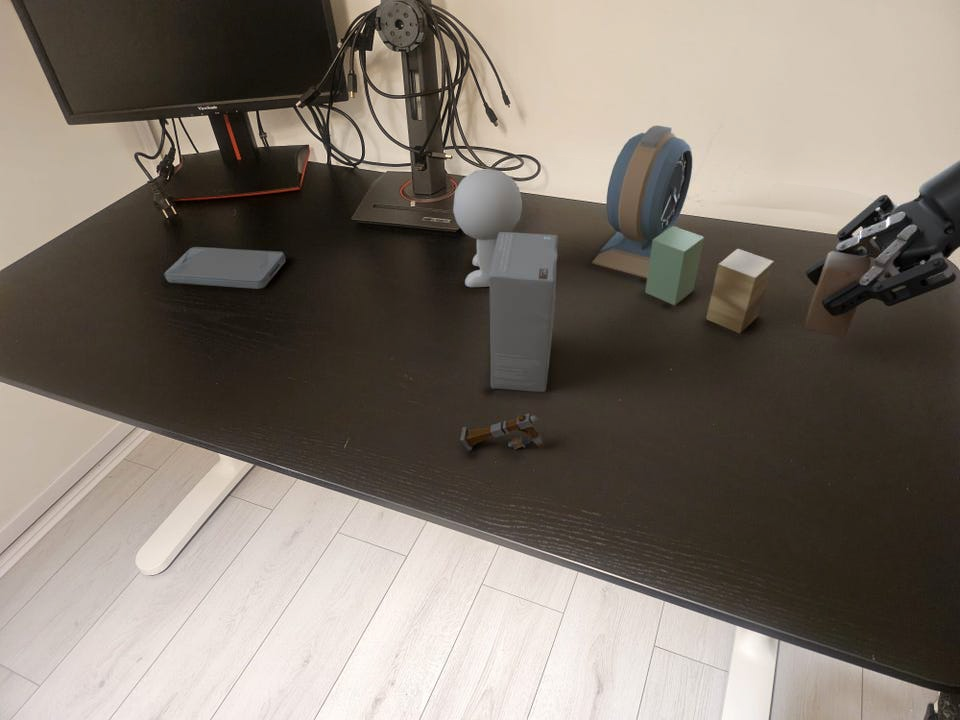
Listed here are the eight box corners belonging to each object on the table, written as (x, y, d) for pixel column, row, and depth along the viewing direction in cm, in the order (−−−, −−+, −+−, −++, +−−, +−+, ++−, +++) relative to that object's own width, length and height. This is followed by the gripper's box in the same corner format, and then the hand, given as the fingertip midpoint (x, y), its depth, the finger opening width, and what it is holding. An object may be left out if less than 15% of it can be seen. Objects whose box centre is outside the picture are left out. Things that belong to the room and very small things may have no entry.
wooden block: (844, 339, 65) (870, 276, 60) (803, 330, 67) (825, 268, 62) (847, 318, 68) (872, 256, 63) (808, 310, 70) (829, 248, 64)
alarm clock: (655, 285, 82) (674, 157, 70) (588, 266, 86) (596, 143, 75) (691, 236, 91) (713, 115, 79) (628, 222, 95) (641, 105, 83)
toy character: (466, 254, 91) (458, 156, 81) (527, 257, 89) (526, 158, 79) (453, 289, 84) (442, 187, 74) (518, 293, 82) (516, 189, 73)
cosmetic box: (497, 344, 75) (491, 228, 64) (556, 346, 74) (559, 229, 63) (488, 392, 68) (480, 273, 58) (552, 396, 67) (555, 275, 57)
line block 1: (693, 290, 81) (704, 236, 75) (674, 305, 78) (684, 251, 73) (664, 278, 83) (672, 225, 78) (644, 292, 81) (652, 239, 76)
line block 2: (757, 316, 76) (774, 261, 70) (739, 334, 73) (755, 278, 68) (724, 302, 78) (737, 248, 73) (705, 319, 76) (718, 264, 71)
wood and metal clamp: (551, 448, 61) (532, 419, 58) (480, 466, 64) (459, 438, 61) (551, 435, 62) (533, 405, 59) (482, 452, 65) (461, 425, 62)
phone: (263, 289, 87) (260, 282, 86) (164, 282, 90) (160, 275, 89) (287, 259, 93) (285, 251, 92) (194, 253, 96) (191, 246, 95)
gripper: (940, 127, 60) (779, 238, 69) (1025, 194, 49) (821, 314, 58) (974, 177, 63) (815, 277, 72) (1061, 251, 52) (861, 357, 61)
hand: (819, 293), depth 65 cm, fingers closed on wooden block, 5 cm apart
